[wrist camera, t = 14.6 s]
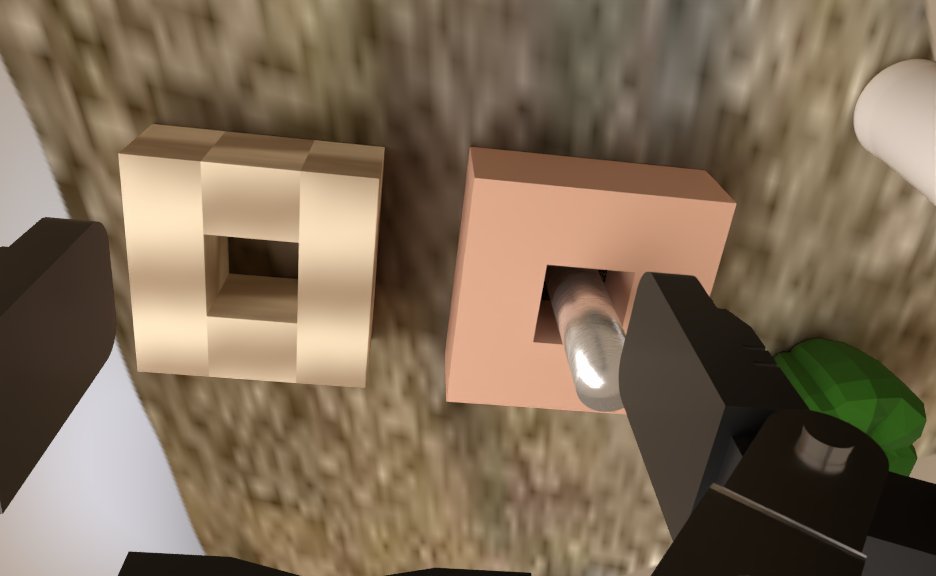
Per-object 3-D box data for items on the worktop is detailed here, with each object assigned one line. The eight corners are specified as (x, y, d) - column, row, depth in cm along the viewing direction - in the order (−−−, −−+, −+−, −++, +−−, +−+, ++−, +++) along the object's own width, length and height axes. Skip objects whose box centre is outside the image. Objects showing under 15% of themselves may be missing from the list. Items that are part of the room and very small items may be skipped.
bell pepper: (894, 349, 49) (997, 453, 40) (809, 443, 52) (886, 558, 43) (790, 295, 47) (874, 391, 38) (708, 396, 50) (768, 507, 41)
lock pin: (546, 240, 45) (582, 352, 34) (598, 245, 45) (649, 358, 34) (538, 287, 46) (570, 409, 35) (588, 291, 46) (635, 414, 36)
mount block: (152, 124, 41) (118, 153, 36) (384, 147, 42) (379, 178, 37) (166, 324, 46) (137, 371, 42) (371, 340, 47) (364, 387, 43)
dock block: (470, 146, 42) (474, 177, 38) (705, 170, 43) (736, 203, 39) (445, 353, 48) (446, 401, 43) (652, 369, 49) (674, 417, 45)
